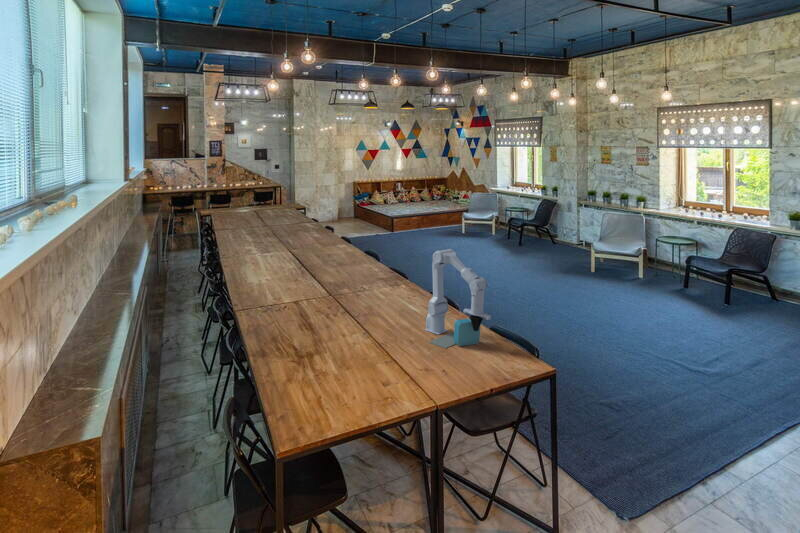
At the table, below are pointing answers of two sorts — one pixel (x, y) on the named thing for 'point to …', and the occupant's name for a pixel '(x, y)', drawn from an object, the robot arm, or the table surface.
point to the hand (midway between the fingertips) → (476, 330)
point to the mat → (444, 341)
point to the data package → (465, 333)
